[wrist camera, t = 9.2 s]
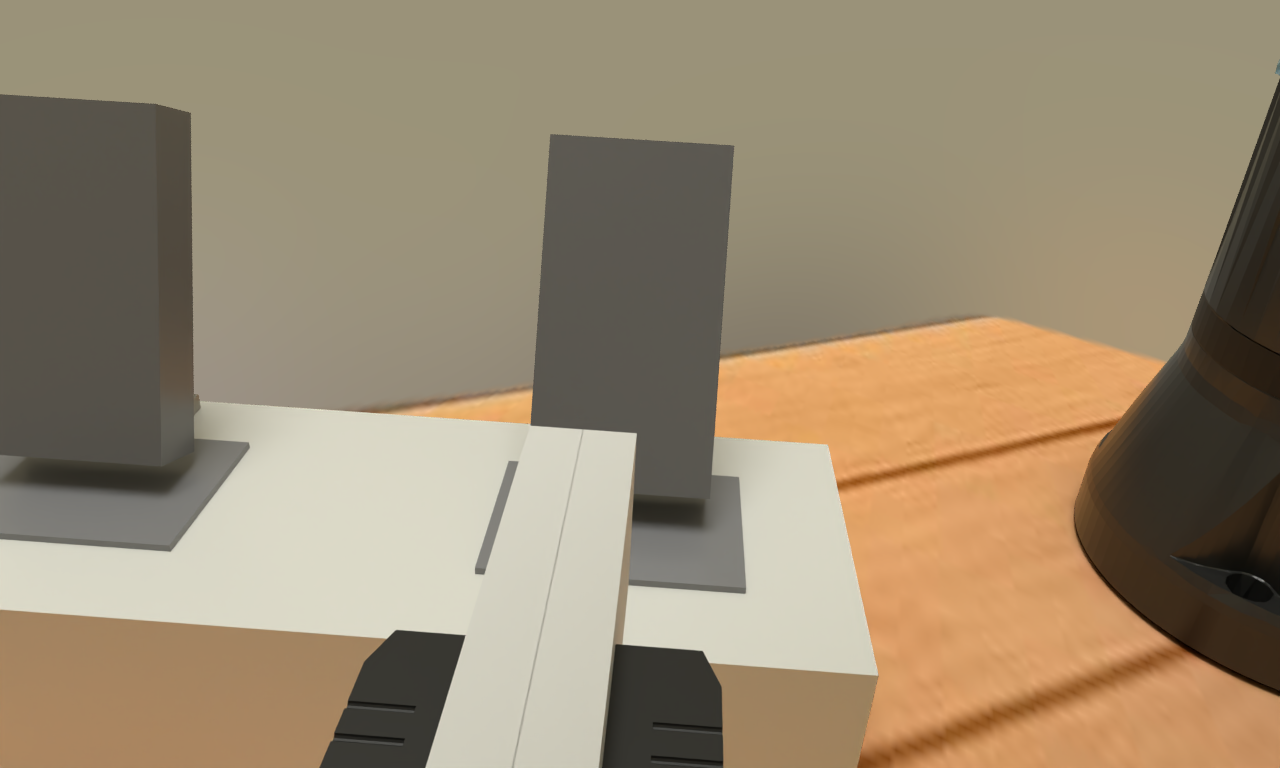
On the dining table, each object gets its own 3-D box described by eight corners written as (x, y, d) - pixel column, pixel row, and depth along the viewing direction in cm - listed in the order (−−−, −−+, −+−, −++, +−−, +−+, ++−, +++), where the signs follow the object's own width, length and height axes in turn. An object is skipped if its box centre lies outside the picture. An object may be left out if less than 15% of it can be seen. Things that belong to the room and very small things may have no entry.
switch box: (803, 586, 34) (830, 431, 31) (839, 840, 25) (882, 660, 22) (58, 532, 35) (9, 374, 31) (-159, 760, 26) (-258, 574, 23)
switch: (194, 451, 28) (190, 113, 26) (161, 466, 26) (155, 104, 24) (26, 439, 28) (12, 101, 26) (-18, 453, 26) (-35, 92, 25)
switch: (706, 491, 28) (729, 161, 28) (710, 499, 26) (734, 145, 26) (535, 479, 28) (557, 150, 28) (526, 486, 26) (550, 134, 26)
